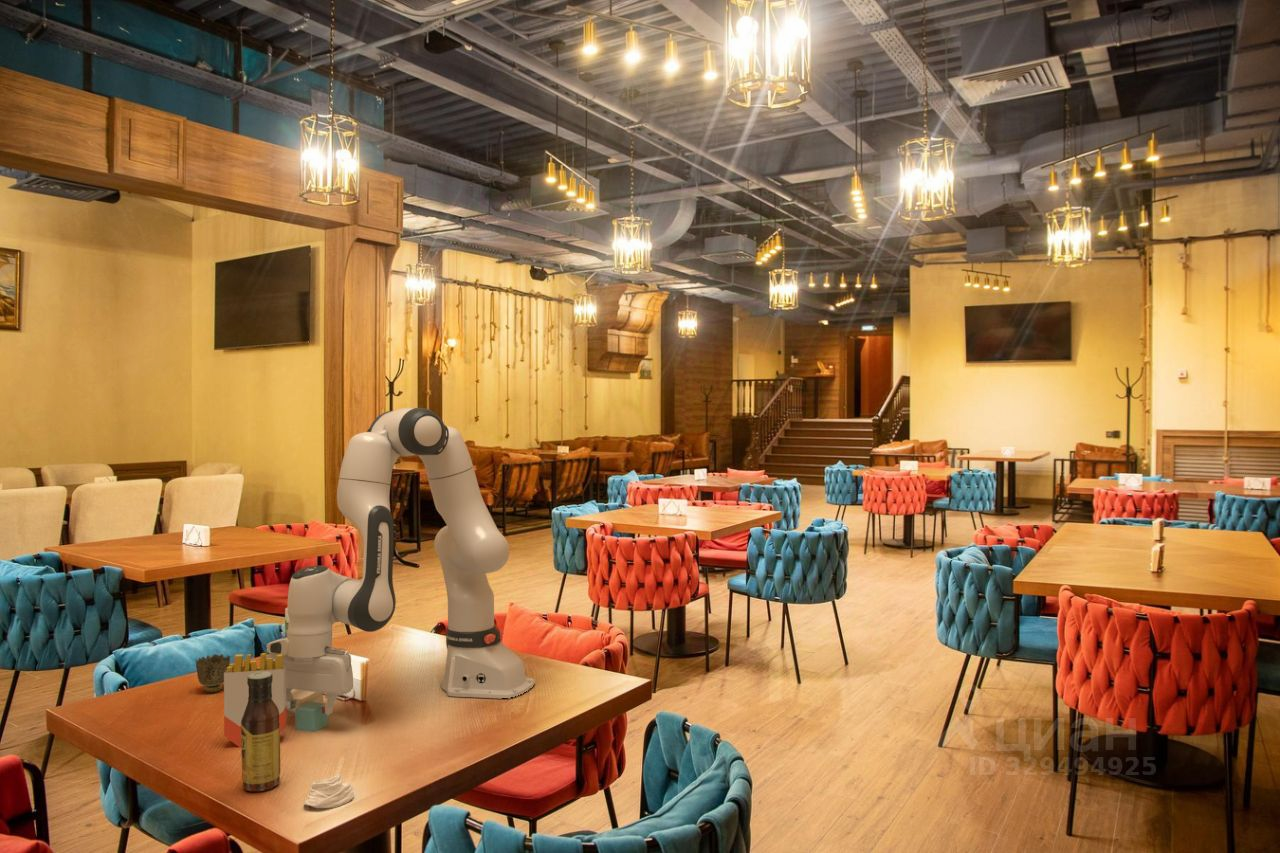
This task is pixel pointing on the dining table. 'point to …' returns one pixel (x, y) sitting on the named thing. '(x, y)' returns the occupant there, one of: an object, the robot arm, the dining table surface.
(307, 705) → the teal block
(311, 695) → the maple base block
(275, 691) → the french fries container
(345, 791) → the whipped cream
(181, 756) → the dining table surface
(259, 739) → the sauce bottle
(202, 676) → the cup
